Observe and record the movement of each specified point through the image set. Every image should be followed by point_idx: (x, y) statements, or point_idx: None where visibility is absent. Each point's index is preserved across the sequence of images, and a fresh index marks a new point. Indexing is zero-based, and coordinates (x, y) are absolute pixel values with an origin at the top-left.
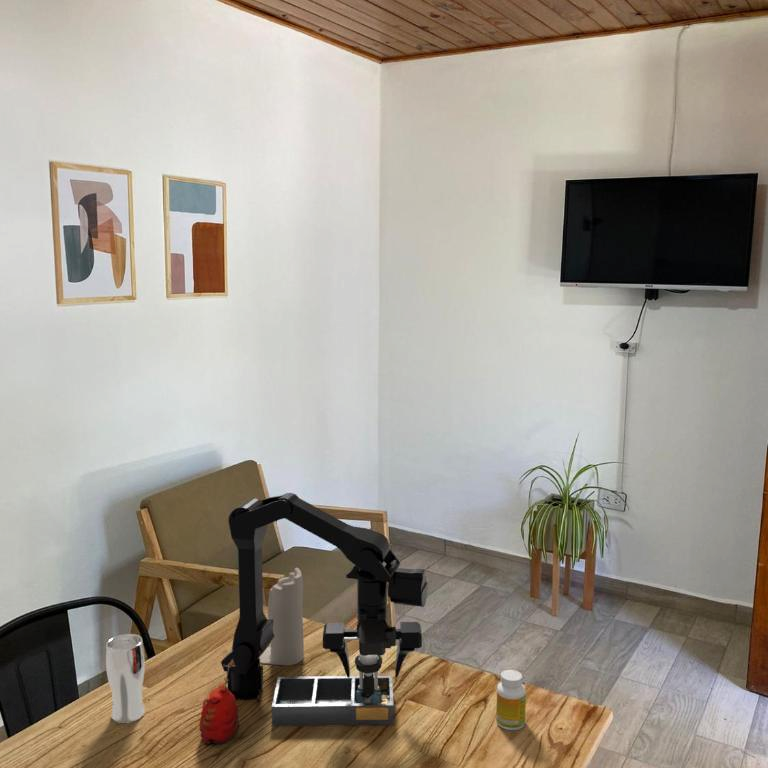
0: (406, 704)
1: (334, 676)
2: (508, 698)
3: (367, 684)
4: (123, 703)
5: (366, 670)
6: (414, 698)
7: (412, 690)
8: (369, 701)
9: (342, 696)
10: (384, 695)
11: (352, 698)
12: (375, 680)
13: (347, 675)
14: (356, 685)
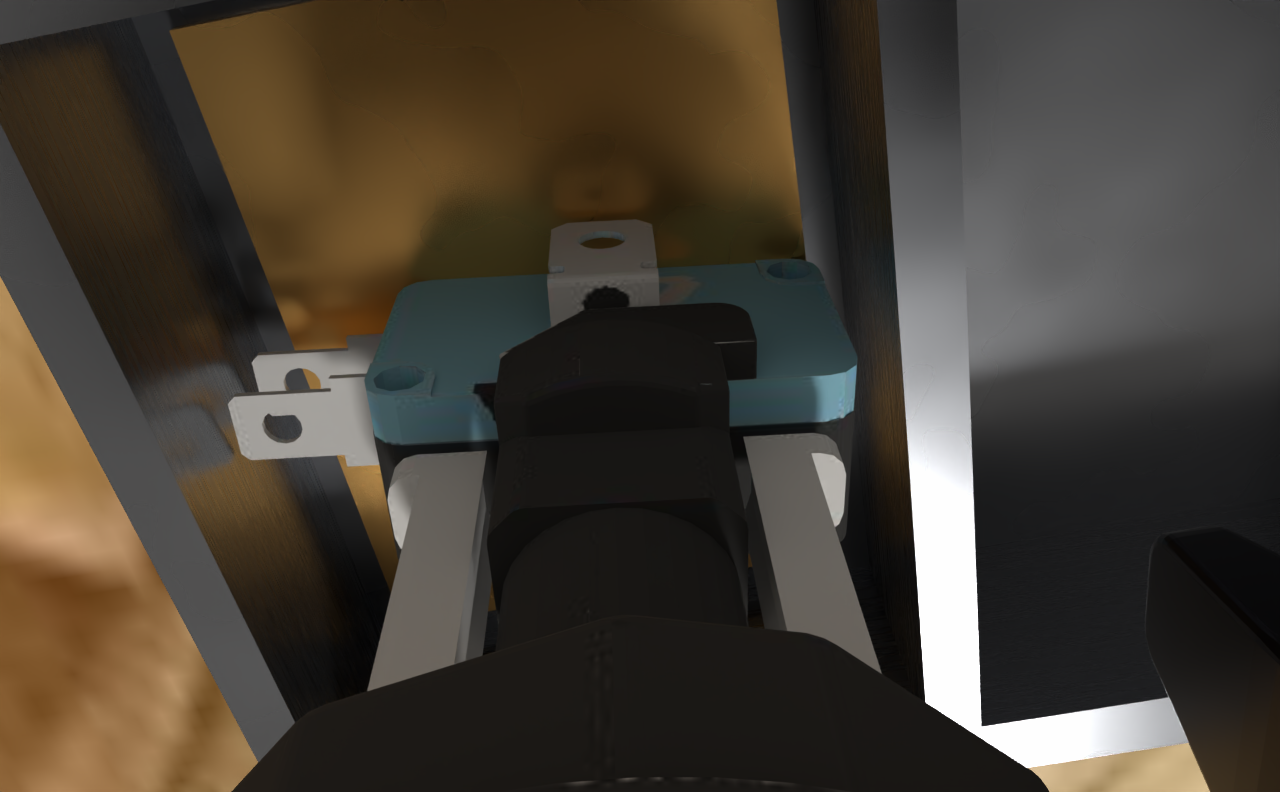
0: (101, 477)
1: None
2: None
3: (625, 478)
4: None
5: (623, 706)
6: (53, 611)
7: (150, 744)
8: (570, 259)
9: (1051, 438)
10: (332, 451)
11: (926, 87)
12: (433, 600)
13: (1259, 560)
14: (871, 640)
